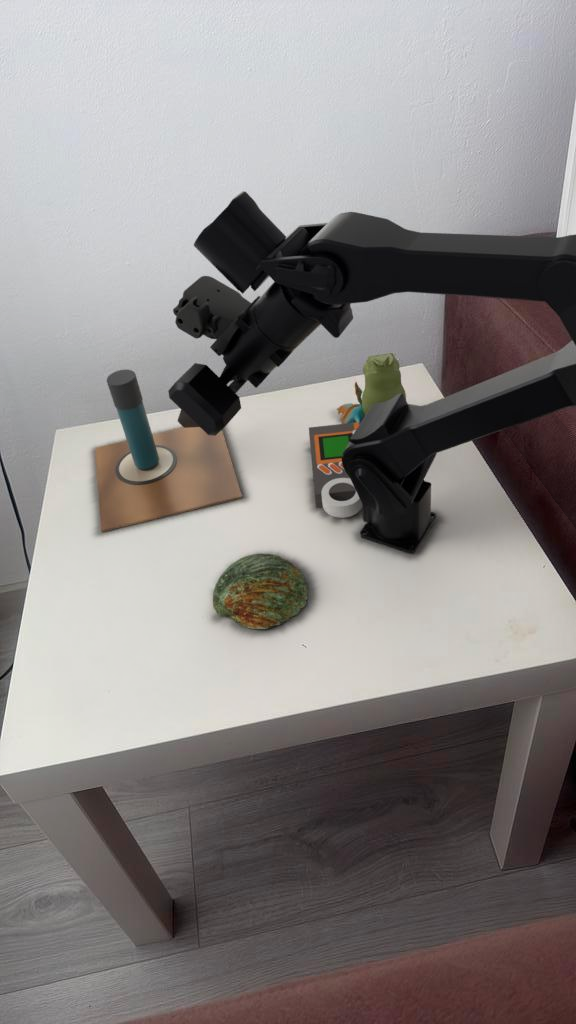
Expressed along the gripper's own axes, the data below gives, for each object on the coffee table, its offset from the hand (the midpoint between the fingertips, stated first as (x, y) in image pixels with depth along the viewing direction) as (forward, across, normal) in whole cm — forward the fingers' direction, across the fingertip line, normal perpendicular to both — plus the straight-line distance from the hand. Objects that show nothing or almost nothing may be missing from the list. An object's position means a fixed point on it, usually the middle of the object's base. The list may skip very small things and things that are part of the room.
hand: (203, 400), depth 82 cm
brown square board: (+15, 0, +3) cm, 15 cm away
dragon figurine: (-1, -19, +16) cm, 25 cm away
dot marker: (+16, 0, 0) cm, 17 cm away
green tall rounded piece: (-1, -18, +19) cm, 26 cm away
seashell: (0, +14, +18) cm, 23 cm away
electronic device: (0, -6, +18) cm, 19 cm away
